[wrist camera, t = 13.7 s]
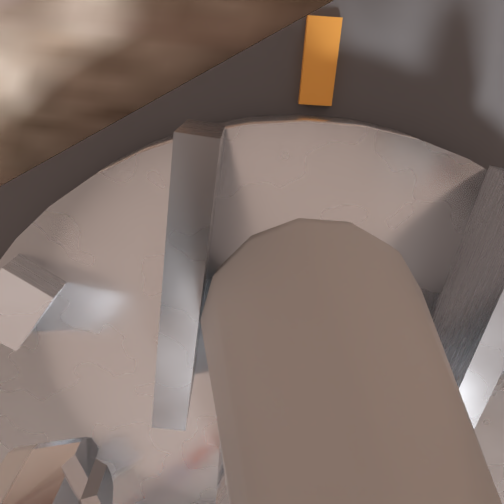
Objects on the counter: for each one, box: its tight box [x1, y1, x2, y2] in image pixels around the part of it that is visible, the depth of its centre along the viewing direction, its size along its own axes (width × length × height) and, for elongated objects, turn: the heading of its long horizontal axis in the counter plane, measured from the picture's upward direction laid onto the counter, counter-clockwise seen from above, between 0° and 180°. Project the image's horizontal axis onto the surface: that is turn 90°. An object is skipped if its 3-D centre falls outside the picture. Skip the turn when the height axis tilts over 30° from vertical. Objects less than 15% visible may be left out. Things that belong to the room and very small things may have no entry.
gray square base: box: [0, 0, 504, 259], centre depth 18 cm, size 26×26×1 cm
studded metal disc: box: [0, 114, 504, 504], centre depth 16 cm, size 24×24×5 cm
